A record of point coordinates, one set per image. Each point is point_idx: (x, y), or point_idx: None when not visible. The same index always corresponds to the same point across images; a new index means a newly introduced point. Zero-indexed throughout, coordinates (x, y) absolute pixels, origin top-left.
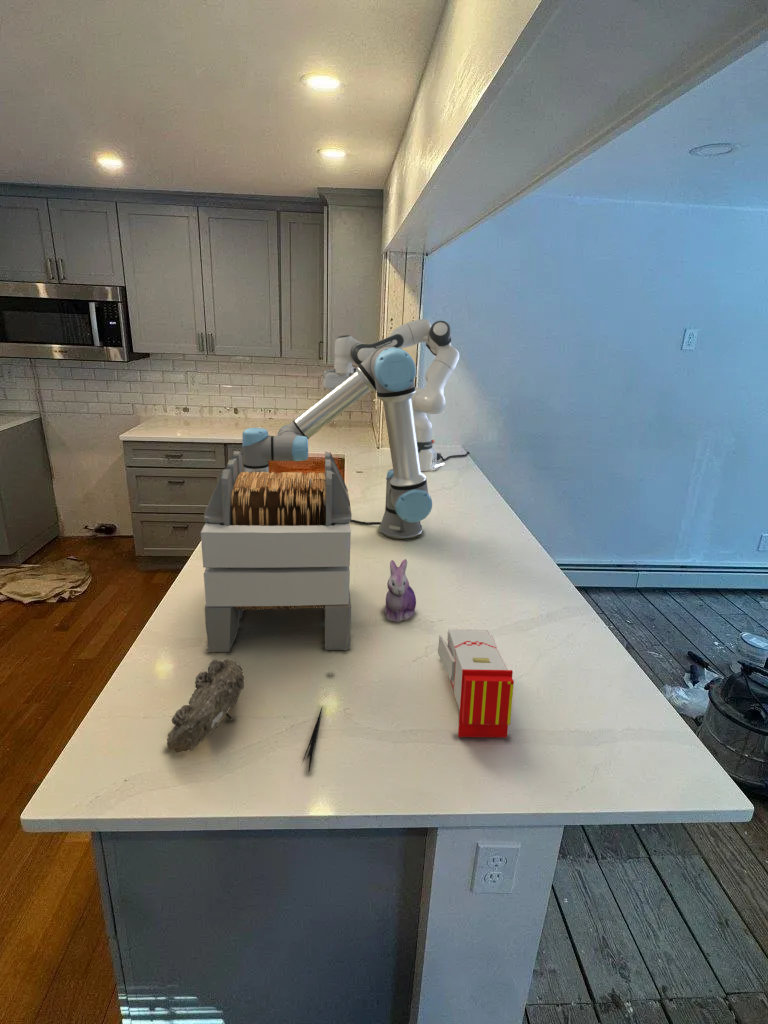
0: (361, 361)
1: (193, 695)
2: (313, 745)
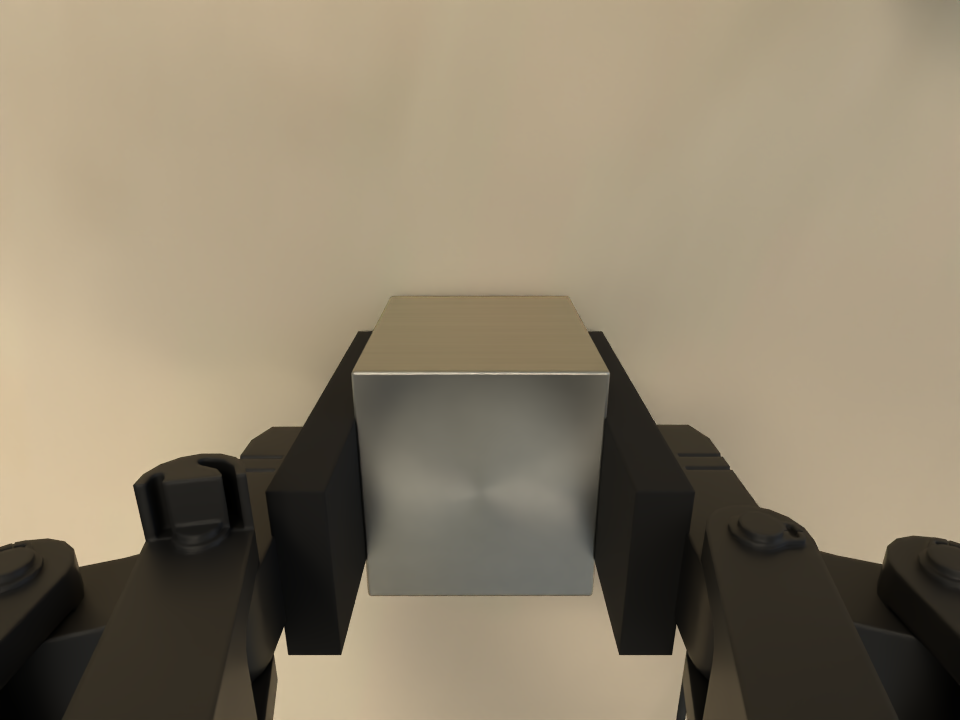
0: None
1: None
2: None
